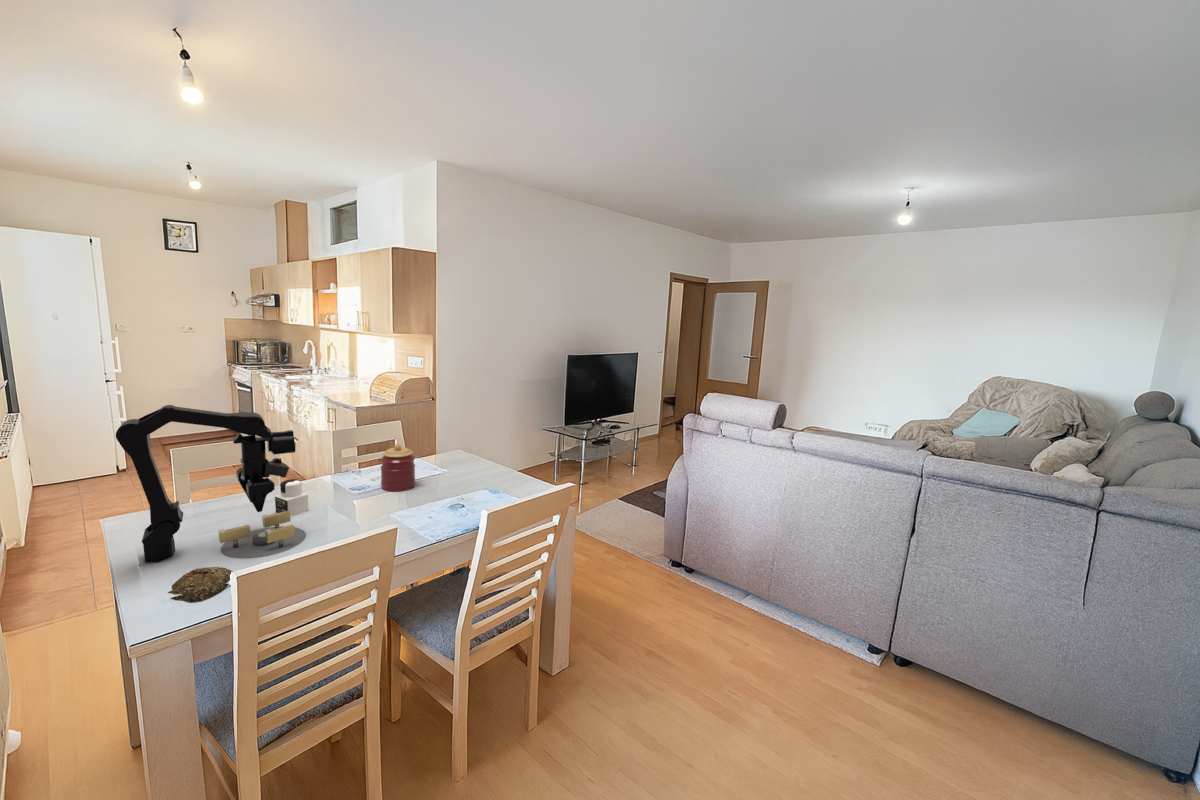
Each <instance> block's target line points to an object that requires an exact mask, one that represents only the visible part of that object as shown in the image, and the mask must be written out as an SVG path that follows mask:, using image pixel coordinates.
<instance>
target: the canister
mask: <svg viewBox="0 0 1200 800" xmlns="http://www.w3.org/2000/svg"><path fill="white" fill-rule="evenodd" d="M413 454H414V452H413V450H411V449H409V448H407V447H404V446H402V445H401V444H400V443H399V444H395V445H394V447H391V448H387V449H386V450H385V451H383V452H382V455H383V456H381V458H380V461H381V466H380V473H381V474H380V477H381V478H380V480H381V481H380V486H381V488H382V489H383V490H384V491H388V492H399V491H400V492H401V491H407V490H410V489H412V488H413V487H415V485H416V472H415V471H416V470H415V467H416V464H415V462H414V461H415V460H416V456H415V455H413Z"/></svg>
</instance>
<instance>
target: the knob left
mask: <svg viewBox="0 0 1200 800" xmlns="http://www.w3.org/2000/svg"><path fill="white" fill-rule="evenodd" d="M250 531H251V526H250V525H249V524H245V525H241V526H236V527H233V528H228V529H224V528H222V529H218V531H217V532H218V541H219V543H220V544H224V543H226V542H229V541H233V548H237V547H238V539H242V538H246V537H250Z"/></svg>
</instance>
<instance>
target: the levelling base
mask: <svg viewBox="0 0 1200 800" xmlns="http://www.w3.org/2000/svg"><path fill="white" fill-rule="evenodd" d="M285 526H286V525H285ZM285 526H283V525H282V526H279V527H280V528H281V527H285ZM268 529H270V530H273V529H275V526H270V527H267V528H265V527H263V528H258V529H253V530H250V537H246V538H242V539H238V547H237V548H233V541H229V542H225V543H222V545H221V546H220V553H221V554H222V555H223V556H225V557H227V558H231V559H239V560H240V559H241V560H246V559H247V560H248V559H249V560H250V559H257V558H258V559H259V558H264V557H265V558H266V557H270V556H274V555H278V554H281V553H284V552H286V551H288V550H289V551H290V550H291V549H294V548H296V547H297V546H299V545H300V544H302V543H303V542H304V541H305V540H306V538H307V533H306V531H304V530H303V529H301V528H299V527H295V536H293V537H290V538H286V539H283V545H284V546H283V547H281V548H279V544H278V541H275V542H271V543H267V542H266V539H265V530H268Z"/></svg>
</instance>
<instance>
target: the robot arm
mask: <svg viewBox="0 0 1200 800" xmlns="http://www.w3.org/2000/svg"><path fill="white" fill-rule="evenodd" d="M169 423H181V424H189V425H198V426H205V427H206V426H207V427H214V428H223V429H225V430H226V429H227V430H230V431H233V432H236V433H238V434H237V435H236V436H235V438H233V439H232V442H233V444H236V445H237V444H240V445H241V458H240V463H241V466H242V467H239V468H238V469H237V470H236V478H237V481H238V483H239V484H240V486H241V488H242V490H243V492H244V493H245V495H246V496H247V498H248V500H249V502H250V503H252V505H253V507H254V508H255V510H256V512H257V513H261V512H263V508H264V505H265V502H266V498H267V495H269V494H270V493H272V492H273V491H275V489H276V488H275V482H274V481H273V480H272V479H270V478H271V476H275V477H280V478H286V477H287V475H288V473H289V470H290V466H289V465H288V464H285V463H282V459H281V458H277V457H274V458H273V459H272V460H271V461H270V460H268V459H267V458H266V457H267V454H266V442H267V451H268V452H269V453H271V454H272V455H282V454H292V453H296V441H295V437H294V433H295V432H294V430H291V429H289V430H285V431H274V432H273V431H271V429H270V428H269V427H268V426H267V425H266V423H265V421H264V417H263V416H262V415H261V414H259V413H258V412H248V411H247V412H232V413H231V412H229V413H228V412H226V413H225V412H220V411H211V410H203V409H197V408H190V407H189V408H188V407H181V406H175V405H173V404H172V405H171V404H166V405H163V406H161V408H158V409H157V410H154V411H152V412H150V413H148V414H145V415H143V416H142V417H140V418H133V419H128V420H124V422H122V424H120V426H119V427H118V428H117V430H116V432H115V439H116V440H117V442H118V444H119V445H120V447H121V448H122V450H123V451H124V452H125V453H126V454H127V455H128V457H130V459H131V460H132V461H131V462H132V463H133V465H134V468H135V471H136V474H137V477H138V478H139V482H140V485H141V487H142V489H143V492H144V494H145V497H146V501H147V502H148V504H149V505H148V506H149V516H150V524H149V525H148V526H147V527H145V529H144V532H143V536H142V539H141V543H142V546H143V547H142V548H143V556H144V563H146V564H147V563H153V564H155V563H160V562H162V561H167V560H168V559H171V558H172V557H173V556H175V552H176V544H175V542H176V541H175V539H174V535H175V534H177V532H179V530H180V528H181V522H183V517H184V511H182V510H181V507H180V501H179V500H177V501H175V502H172V501H171V500H170V498H169V497H168V494H167V491H166V489H165V486H164V483H163V480H162V479H161V476H160V472H159V469H158V468H157V464H156V462H155V458H154V456H153V453H152V448H151V447H152V446H151V434H152V433H154V432H156V431H157V430H159V429H160V428H163V427H164V426H165V425H168V424H169ZM270 475H271V476H270ZM140 566H141V565H140V563H139V564H138V567H140Z"/></svg>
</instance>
